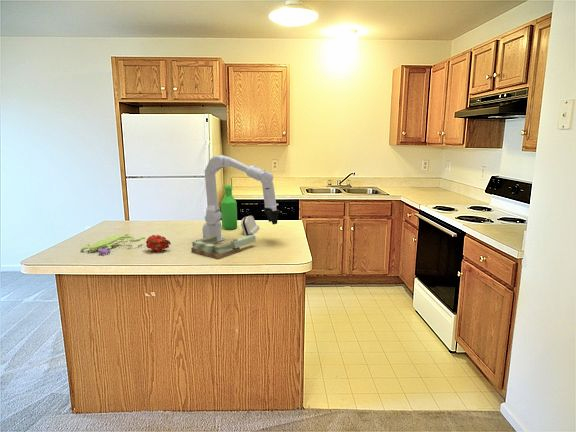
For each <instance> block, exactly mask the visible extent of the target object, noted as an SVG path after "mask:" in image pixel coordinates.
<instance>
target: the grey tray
mask: <svg viewBox="0 0 576 432" xmlns="http://www.w3.org/2000/svg"><path fill="white" fill-rule="evenodd" d="M191 244H192V247H191V252H192V253H194V254H198V255H202V256H205V257H209V258H212V259H216V260H219V259H222V258H226V257H228V256H233V255H234V254H236V253H240V252H241V247H238V248H232V244H231V242H230V243H229V242H226V243H225V242H224V243H223V242H220V241H219V242H217V236H209V237H206V238H203V237H202V238H200V239H195V240H194V241H192V243H191Z"/></svg>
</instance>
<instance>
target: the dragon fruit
mask: <svg viewBox="0 0 576 432" xmlns="http://www.w3.org/2000/svg"><path fill="white" fill-rule="evenodd" d="M145 244H146V245H145V246H146V248H147V249H151V250H152V252H156V251H157V252H166V249H169V248H170V245H172V243H171V241H170V240H169V239H167V238H166V237H165V236H161V235H160V234H157V235H155V234H151V235H150V236H148V237H147V238H146V241H145Z"/></svg>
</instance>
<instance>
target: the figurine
mask: <svg viewBox="0 0 576 432" xmlns="http://www.w3.org/2000/svg"><path fill="white" fill-rule="evenodd" d="M134 238H135V236H133V235H130V234H129V233H125V234H124V235H122V234H117V235H112V236H109V237H106V238H104V239H101V240H99V241H97V242H94V244H92V245H91V244H89V243H87V244H86V246H83V247H81V249H80V251H81V252H84V251H85V250H87V249H89V250H95V251H96V250H97V251H98V255H100V254H107V255H109V254H108V253H110V254H111V249H112V244H113V243H116V242H117V241H119V240H120V241H124V240H125V239H126V241H128V240H129V242H130V243H135V242H141V241H142V240H146V237H145V236H141V237H139V238H138V239H134ZM83 250H84V251H83Z"/></svg>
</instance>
